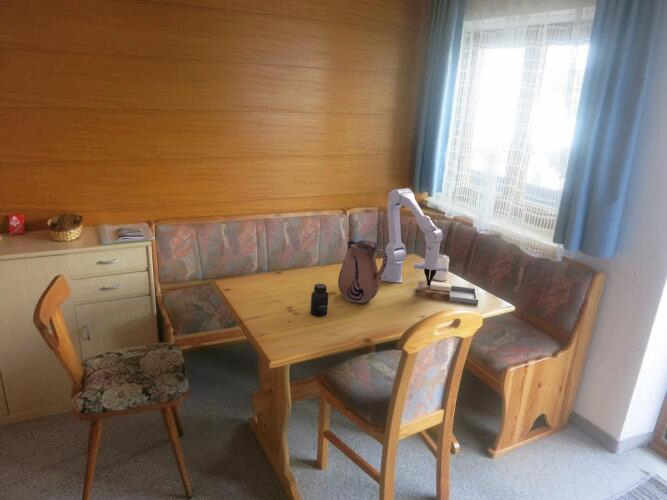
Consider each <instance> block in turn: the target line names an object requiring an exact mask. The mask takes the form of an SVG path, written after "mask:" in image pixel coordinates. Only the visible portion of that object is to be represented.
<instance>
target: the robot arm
mask: <svg viewBox="0 0 667 500" xmlns="http://www.w3.org/2000/svg"><path fill="white" fill-rule="evenodd" d="M387 197H388V198H387V199H388V202H387V205H386V206H387V208H386V209H387V220H388V221H387V222H388V237H389V238H388V239H389V243H388V244H387V245H386V247H385V252H386V254H387V257H388V259H387V265H386V267H385V269H384V272H383V273H382V275H381V278H380V279H381V281H382V282H389V283H395V284H396V283H399V284H402V280H403V276H402V274H403V265H404V264H403V263H404V262H405V260H406V259H407V255H408V253H407V250H406V244H404V243H403V242H402V233H401V232H402V231H401V217H400V215H401V214H400V213H401V212H400V209H401V208H402V207H403V206H405V207H407V208H408V209H409V210H410V211H411V213H412V215H413V216H414V217H415V219H417V220H416V224H417V225H418V227H419V229H420V230H421V231H422V233H423V234H424V241H425V245H426V247H425V256H424V263H419V262H418V263H416V262H414V264H413V269H418V270H419V269H420V270H423V272H424V275H425V279H426V282H427V286H430V284H431V281H432V280H433V279H434V278H433V277H434V276H435V274H436V271H444V272H447V267H444V266H440V265H438V257H439V254H440V247H441V242H442V241H443V239H444V232H443V230H442V229H440V228H438V227H437V226H436V225H435V224H434V223H433V221H432V218H431V217H430V216H428V215H425V214H424V212H423V211H422V209H421V207H420V206H419V203H417V200H416V199H415V194H414V192H413V191H412V190H411V188H409V187H405V188H397V189H395V188H394V189H392V190H390V192H389V193H388V195H387Z"/></svg>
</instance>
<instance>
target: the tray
mask: <svg viewBox="0 0 667 500" xmlns="http://www.w3.org/2000/svg"><path fill="white" fill-rule="evenodd" d="M448 302H449V303H455V304H456V303H458V304H464V305H465V304H466V305H473V306H478V304H479V296H478V291H477V288H476V287H468V286H460V285H452V284H451V291H450V297H449V301H448Z"/></svg>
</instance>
